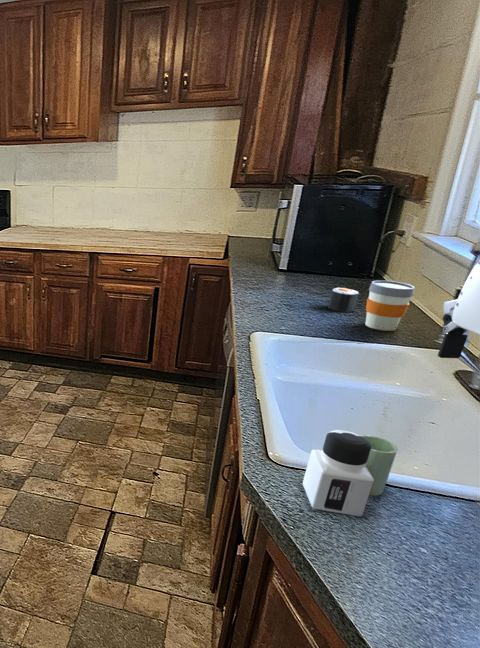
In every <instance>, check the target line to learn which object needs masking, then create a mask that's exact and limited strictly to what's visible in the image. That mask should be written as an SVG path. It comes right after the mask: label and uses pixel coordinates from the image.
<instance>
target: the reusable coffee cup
mask: <svg viewBox="0 0 480 648" xmlns="http://www.w3.org/2000/svg"><path fill="white" fill-rule="evenodd" d="M415 288H416V287H415V286H414V285H412V284H409V283H405V282H401V281H400V282H399V281H394V280H393V281H392V280H373V281H371V283H370V286H369V288H368V291H369V293H368V297H367V298H366V305H365V312H366V316H365V323H364V325H365V326H366V327H368V328H370V329H374V330H378V331H387V332H388V331H389V332H392V331H395V330H397V327H398V326H399V323H400V322H401V319H402V318H403V317H404V316H405V315H406V313H407V310H408V308H409V307H410V301H411V299H412V297H414V293H415ZM377 326H378V327H377ZM383 327H384V328H383ZM395 327H396V328H395Z"/></svg>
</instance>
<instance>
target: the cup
mask: <svg viewBox="0 0 480 648" xmlns="http://www.w3.org/2000/svg"><path fill="white" fill-rule="evenodd" d="M361 436H362V437H364V438H366V439H367V440H368V441H369V442H370V444H371V446H372V448H371V451H370V454H369V457H368V460H367V463H366V468H367V469H368V471H369V473H370V474H371V476H372V477H373V479H374V482H373V485H372V488H371V491H370V494H369V496H375V497H376V496H381V495H382V494H383V493H384V490H385V488H386V485H387V482H388V479H389V477H390V473H391V471H392V469H393V465H394V461H395V459H396V457H397V454H398V451H399V448H398V446H397V445H395V444H394V443H393V442H391V441H390V440H387V439H386V438H383V437H379V436H375V435H368V434H367V435H364V434H363V435H361Z"/></svg>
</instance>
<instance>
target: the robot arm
mask: <svg viewBox="0 0 480 648" xmlns="http://www.w3.org/2000/svg"><path fill="white" fill-rule="evenodd" d="M442 306H443V316H442V322H443V324H444V327H443V328H442V332H443V333H444V337H443V339H442V342H441V345H440V348H439V350H438V353H437V357H439V358H440V359H459V358H461V356H462V352H463V351H464V347H465V345H466V342H467V340H468V334H466V333H467V332H471V333H473V334H475V335H478V336H480V256H479V257H478V261H477V263H475V264H474V266H473V267H472V269H471V271H470V273H469V274H468V276H467V278H466V280H465V282H464V283H463V286H462V288H461V290H460V292H459V294H458V297H457V298H456V299H452V300H448V301H445V302H444V303H443V305H442Z"/></svg>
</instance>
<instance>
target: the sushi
mask: <svg viewBox="0 0 480 648" xmlns="http://www.w3.org/2000/svg"><path fill="white" fill-rule="evenodd" d="M359 294H360V292H359V291H358V290H355V289H350V288H346V287H340V286H339V287H335V288H332V290H331V295H330V298H329V303H328V306H327V308H328V309H330V310H333V311H335V312H340V313H351V312H354V310H355V307H356V303H357V299H358V296H359Z"/></svg>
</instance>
